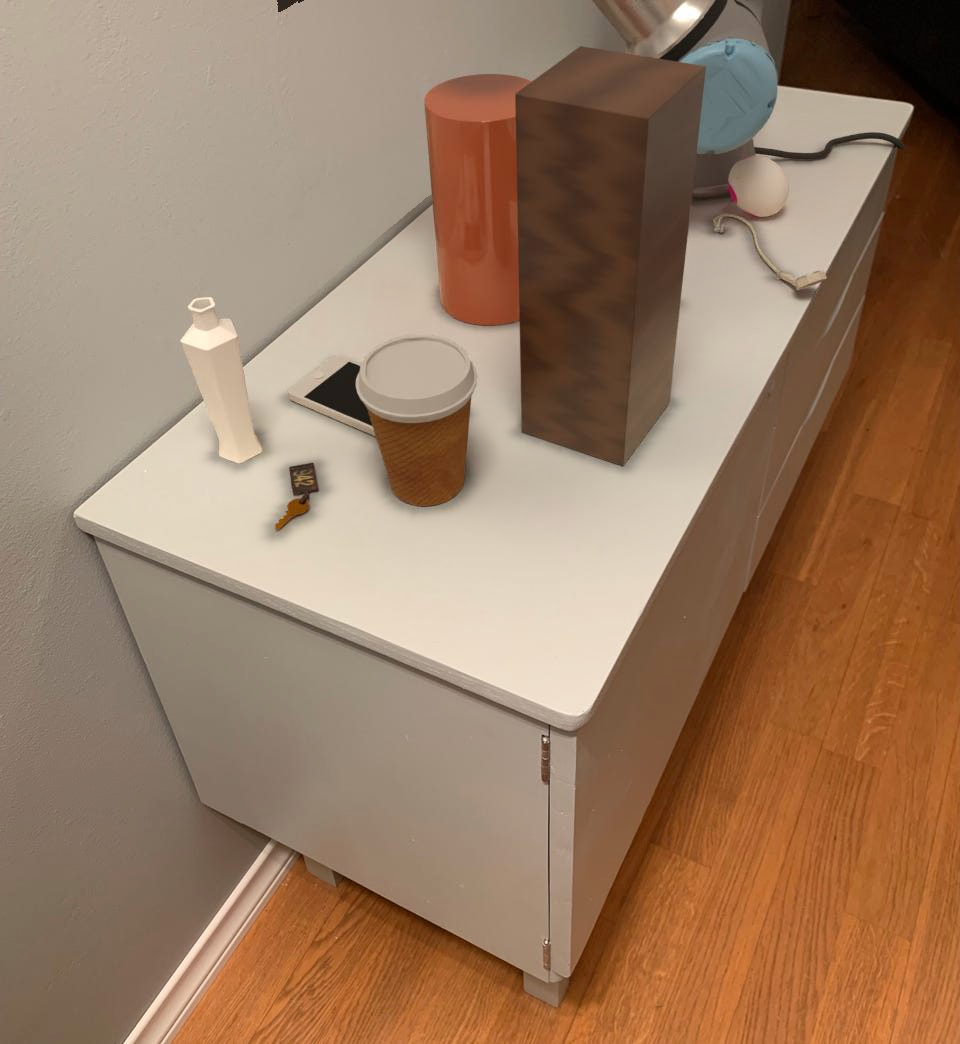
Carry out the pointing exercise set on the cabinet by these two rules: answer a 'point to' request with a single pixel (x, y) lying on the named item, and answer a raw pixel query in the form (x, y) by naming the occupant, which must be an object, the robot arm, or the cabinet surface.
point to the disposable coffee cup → (420, 413)
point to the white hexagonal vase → (221, 380)
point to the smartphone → (334, 393)
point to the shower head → (798, 282)
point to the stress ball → (758, 186)
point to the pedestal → (475, 195)
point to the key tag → (299, 490)
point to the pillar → (603, 243)
